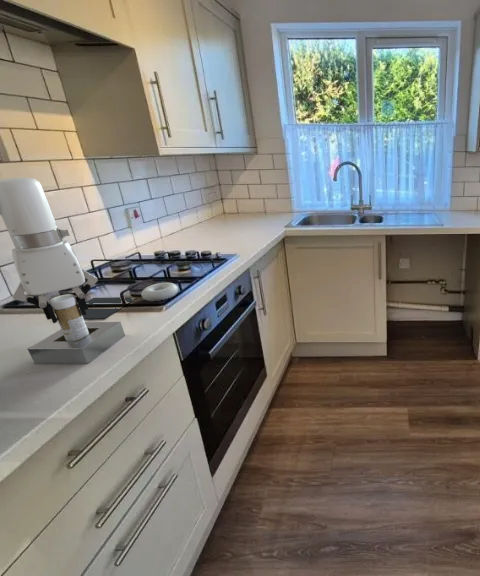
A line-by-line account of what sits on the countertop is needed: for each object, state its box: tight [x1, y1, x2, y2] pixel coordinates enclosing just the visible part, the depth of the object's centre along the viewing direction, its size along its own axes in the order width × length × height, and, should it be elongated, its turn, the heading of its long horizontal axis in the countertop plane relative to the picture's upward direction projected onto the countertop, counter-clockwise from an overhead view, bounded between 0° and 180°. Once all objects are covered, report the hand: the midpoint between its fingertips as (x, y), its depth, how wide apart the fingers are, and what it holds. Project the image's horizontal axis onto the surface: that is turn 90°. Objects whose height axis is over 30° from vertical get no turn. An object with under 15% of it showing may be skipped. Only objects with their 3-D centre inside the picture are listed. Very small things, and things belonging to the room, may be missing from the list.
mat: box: [57, 296, 132, 321], centre depth 106 cm, size 14×14×1 cm
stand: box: [27, 321, 126, 365], centre depth 85 cm, size 12×12×4 cm
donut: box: [140, 282, 179, 303], centre depth 113 cm, size 10×4×10 cm
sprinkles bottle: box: [48, 293, 89, 341], centre depth 83 cm, size 5×5×14 cm
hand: (69, 316), depth 82 cm, fingers closed on sprinkles bottle, 4 cm apart
